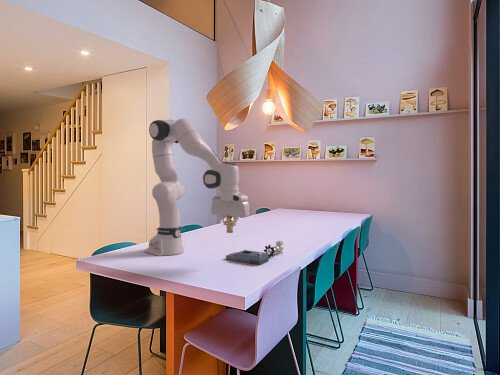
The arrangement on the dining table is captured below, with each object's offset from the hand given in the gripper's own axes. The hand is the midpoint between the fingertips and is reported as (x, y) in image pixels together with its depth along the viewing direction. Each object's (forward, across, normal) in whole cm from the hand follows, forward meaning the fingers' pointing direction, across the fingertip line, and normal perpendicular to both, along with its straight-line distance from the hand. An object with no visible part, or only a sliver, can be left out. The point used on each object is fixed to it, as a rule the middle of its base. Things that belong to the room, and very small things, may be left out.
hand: (229, 225), depth 160 cm
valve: (+19, +10, +27) cm, 34 cm away
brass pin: (+3, 0, 0) cm, 3 cm away
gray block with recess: (+19, +3, +10) cm, 21 cm away
